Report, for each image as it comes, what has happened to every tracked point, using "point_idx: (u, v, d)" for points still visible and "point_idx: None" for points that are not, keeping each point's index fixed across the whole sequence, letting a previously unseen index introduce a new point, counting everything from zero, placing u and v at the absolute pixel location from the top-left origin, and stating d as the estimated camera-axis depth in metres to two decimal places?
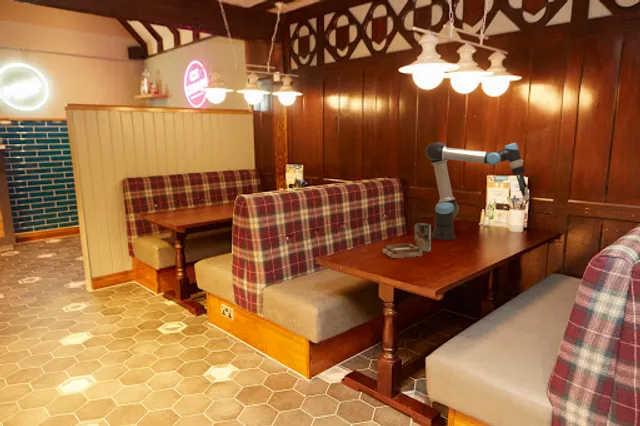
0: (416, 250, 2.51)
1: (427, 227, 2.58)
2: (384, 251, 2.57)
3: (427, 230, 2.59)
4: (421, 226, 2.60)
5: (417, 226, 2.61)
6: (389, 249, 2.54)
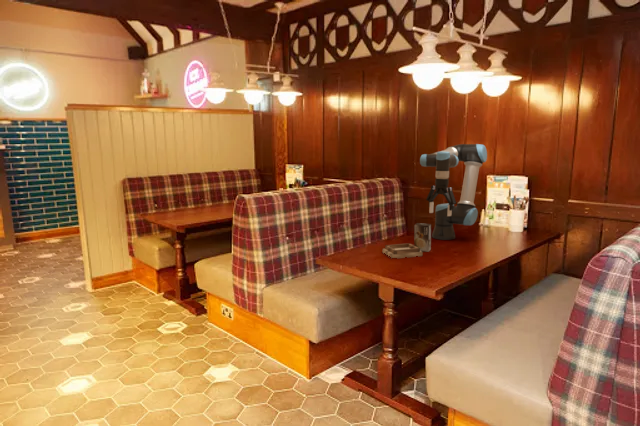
0: (416, 250, 2.51)
1: (427, 227, 2.58)
2: (384, 251, 2.57)
3: (427, 230, 2.59)
4: (421, 226, 2.60)
5: (417, 226, 2.61)
6: (389, 249, 2.54)
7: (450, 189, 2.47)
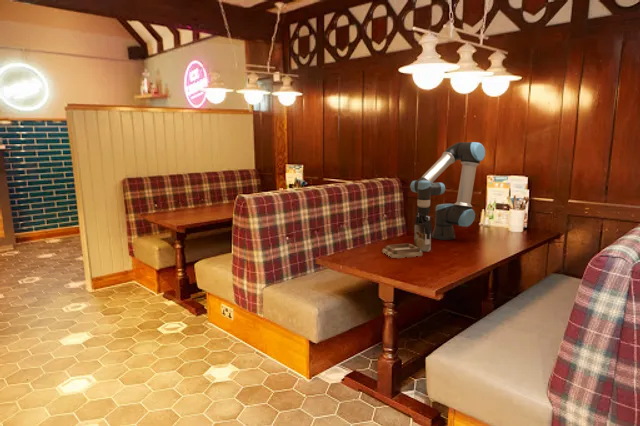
0: (416, 250, 2.51)
1: None
2: (384, 251, 2.57)
3: None
4: (421, 226, 2.60)
5: (417, 226, 2.61)
6: (389, 249, 2.54)
7: (428, 219, 2.55)
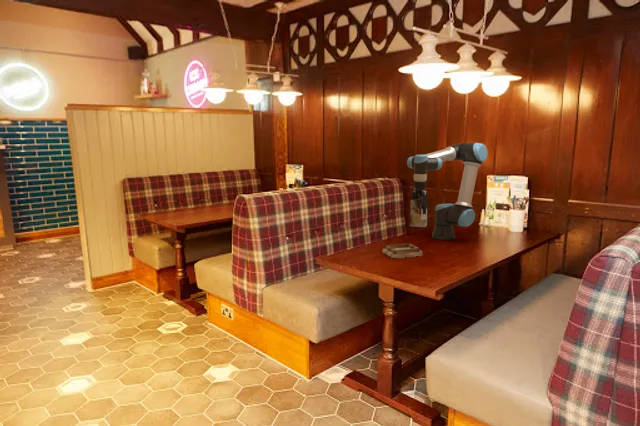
0: (416, 250, 2.51)
1: None
2: (384, 251, 2.57)
3: None
4: (417, 201, 2.55)
5: (413, 201, 2.56)
6: (389, 249, 2.54)
7: (424, 193, 2.50)
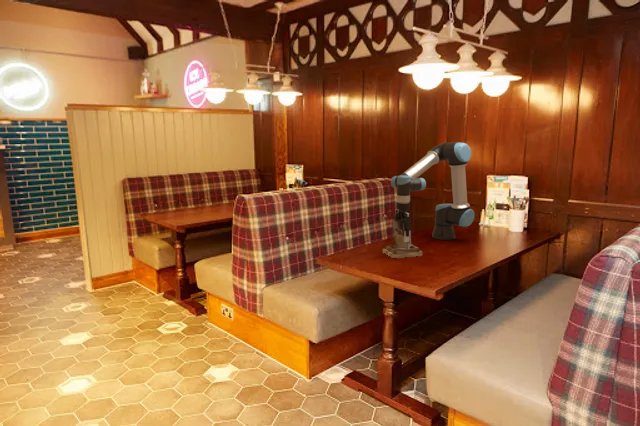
0: (416, 250, 2.51)
1: None
2: (384, 251, 2.57)
3: None
4: (400, 222, 2.50)
5: (396, 222, 2.51)
6: (389, 249, 2.54)
7: (407, 215, 2.45)
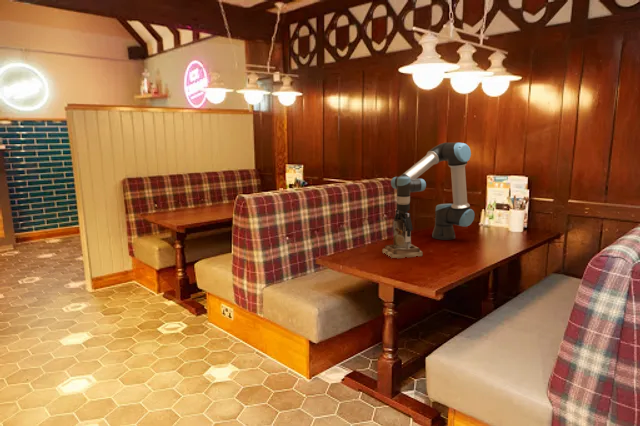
0: (416, 250, 2.51)
1: None
2: (384, 251, 2.57)
3: None
4: (400, 222, 2.50)
5: (396, 222, 2.51)
6: (389, 249, 2.54)
7: (407, 215, 2.45)
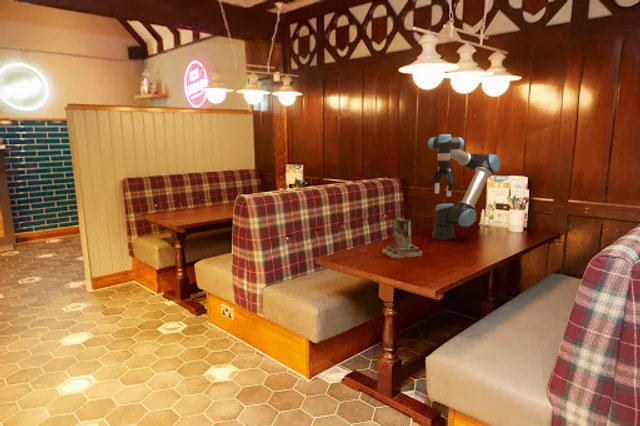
0: (416, 250, 2.51)
1: (406, 223, 2.48)
2: (384, 251, 2.57)
3: (406, 227, 2.49)
4: (400, 222, 2.50)
5: (396, 222, 2.51)
6: (389, 249, 2.54)
7: (449, 170, 2.58)
